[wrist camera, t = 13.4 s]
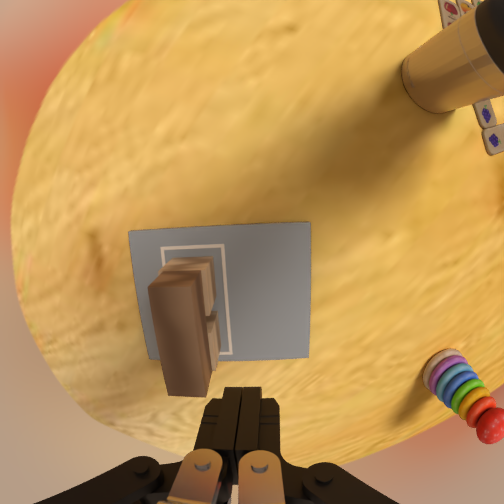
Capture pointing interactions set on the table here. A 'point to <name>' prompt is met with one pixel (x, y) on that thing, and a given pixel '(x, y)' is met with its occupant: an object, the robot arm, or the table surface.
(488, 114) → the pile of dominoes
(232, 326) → the board
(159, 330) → the lintel
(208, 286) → the tan wooden cube
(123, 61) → the table surface
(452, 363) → the stacking toy
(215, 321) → the pillar
